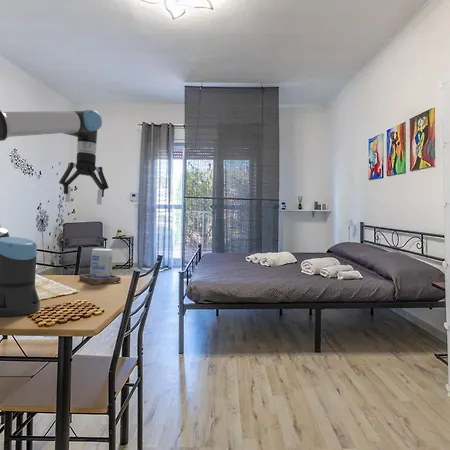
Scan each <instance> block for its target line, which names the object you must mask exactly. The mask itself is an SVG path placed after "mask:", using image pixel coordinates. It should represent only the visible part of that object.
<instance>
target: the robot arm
mask: <svg viewBox="0 0 450 450" xmlns="http://www.w3.org/2000/svg"><path fill="white" fill-rule="evenodd" d="M102 124H103V120H102V116H101V115H100V113H99V112H98V111H96V110H94V109H86V110H74V111H73V110H65V111H63V110H58V111H57V110H56V111H54V110H53V111H52V110H50V111H49V110H48V111H46V110H45V111H42V110H41V111H39V110H38V111H2V110H1V109H0V142H1V141H2V142H4V141H5V140H7V139H8V137H9V138H10V137H12V138H13V137H24V136H25V137H26V136H28V137H29V136H38V135H39V136H41V135H54V134H56V135H57V134H64V135H68V136H73V137H76V138H77V145H76V147H77V148H76V152H77V153H76V163H74V162H73V161H72V162H68V163H67V164H68V165H67V167H66V170H65V172H64V174H63V175H62V177H61V178H60V180H59V181H58V183H59V184H60V185H62V186H63V194H64V195H65V202H64V203H71V186H70V185H71V184H72V182H74V181H75V180H76V179H77V178H78V177H79V176H80V175H81V176H88V177H91V179H92V180H93V181H94V183H95V184H96V186H97V187H98V189H97V199H96V205H99V206H100V205H102V201H103V200H102V199H103V198H104V194H105V190H107V189H109V185H108V183H107V179H106V177H105V175H104V172H103V166H96V164H97V163H96V160H97V159H96V158H97V155H96V154H97V142H98V141H97V140H98V130H100V128H101V127H102ZM73 169H76V170H75V172H74V173H72V175H71V176H70V174H71V172H72V171H73ZM95 171H96V172H97V174H96V172H95ZM97 175H98V176H97ZM69 176H70V177H69ZM98 177H99V178H98ZM37 255H38V247H37V243H36V242H35V241H34V240H32V239H29V238H25V237H18V236H17V237H16V236H10V234H9V231H8V229H6V228H4V227H2V226H1V225H0V317H1V318H2V317H19V316H25V315H26V316H27V315H30V314H33V313H36V312H38V311H39V310H40V307H41V301H40V298H39V294H38V292H37V287H36V274H37V273H36V272H37Z"/></svg>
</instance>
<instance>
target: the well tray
mask: <svg viewBox="0 0 450 450" xmlns="http://www.w3.org/2000/svg"><path fill="white" fill-rule="evenodd" d="M78 277H79V279H78V280H79V281H80V282H83V283H85V284H87V285H91V286H99V285H108V284H109V283H111V284H115V283H114V282H119V281H120V282H122V281H121V279H122V278H121V276H118V275H114V274H112V273H111V278H104V279H91V278H90V273H89V274H88V273H87V274H85V273H84V274H79V276H78Z"/></svg>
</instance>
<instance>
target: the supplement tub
mask: <svg viewBox="0 0 450 450" xmlns="http://www.w3.org/2000/svg"><path fill="white" fill-rule="evenodd" d="M90 256H91V258H90V270H89V271H90V272H89V274H90V278H91V279H104V278H111V274H112V267H113V266H112V265H113V249H112V248H100V247H99V248H92V249H91V255H90Z"/></svg>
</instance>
